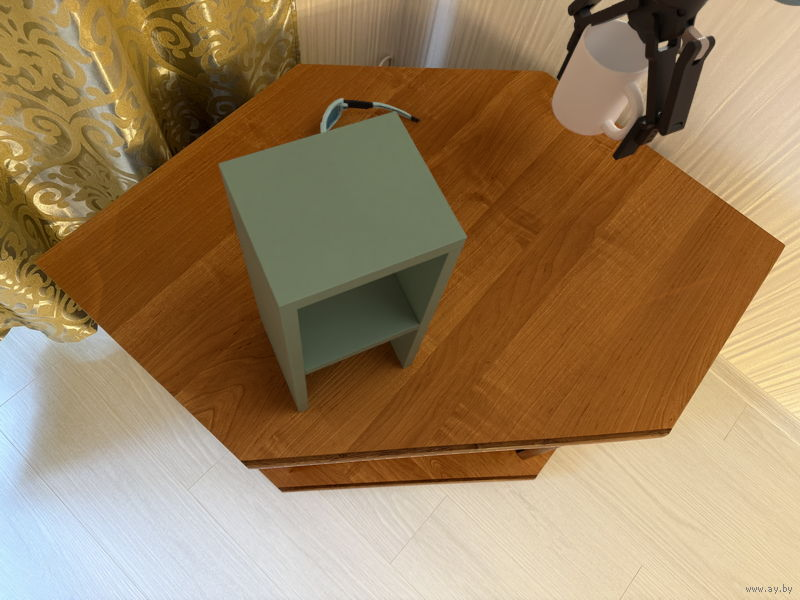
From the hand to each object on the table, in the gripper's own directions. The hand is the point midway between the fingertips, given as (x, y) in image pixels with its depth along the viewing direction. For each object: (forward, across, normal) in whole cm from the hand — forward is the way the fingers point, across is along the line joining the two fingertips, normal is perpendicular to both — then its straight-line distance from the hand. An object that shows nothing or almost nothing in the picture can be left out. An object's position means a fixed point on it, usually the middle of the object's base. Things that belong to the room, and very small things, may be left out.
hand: (593, 114), depth 72 cm
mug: (+2, 0, 0) cm, 2 cm away
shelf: (+12, +11, -38) cm, 41 cm away
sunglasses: (+12, -12, -23) cm, 29 cm away
